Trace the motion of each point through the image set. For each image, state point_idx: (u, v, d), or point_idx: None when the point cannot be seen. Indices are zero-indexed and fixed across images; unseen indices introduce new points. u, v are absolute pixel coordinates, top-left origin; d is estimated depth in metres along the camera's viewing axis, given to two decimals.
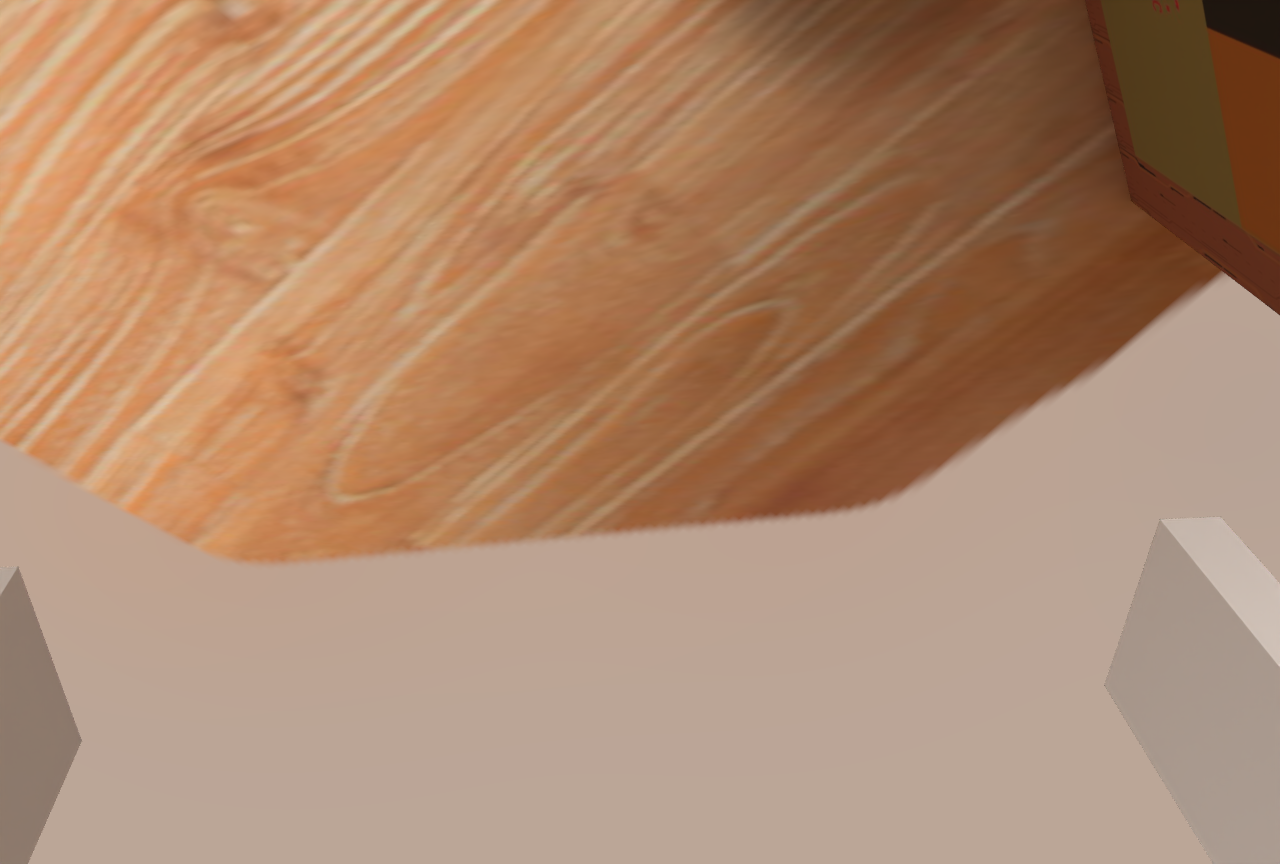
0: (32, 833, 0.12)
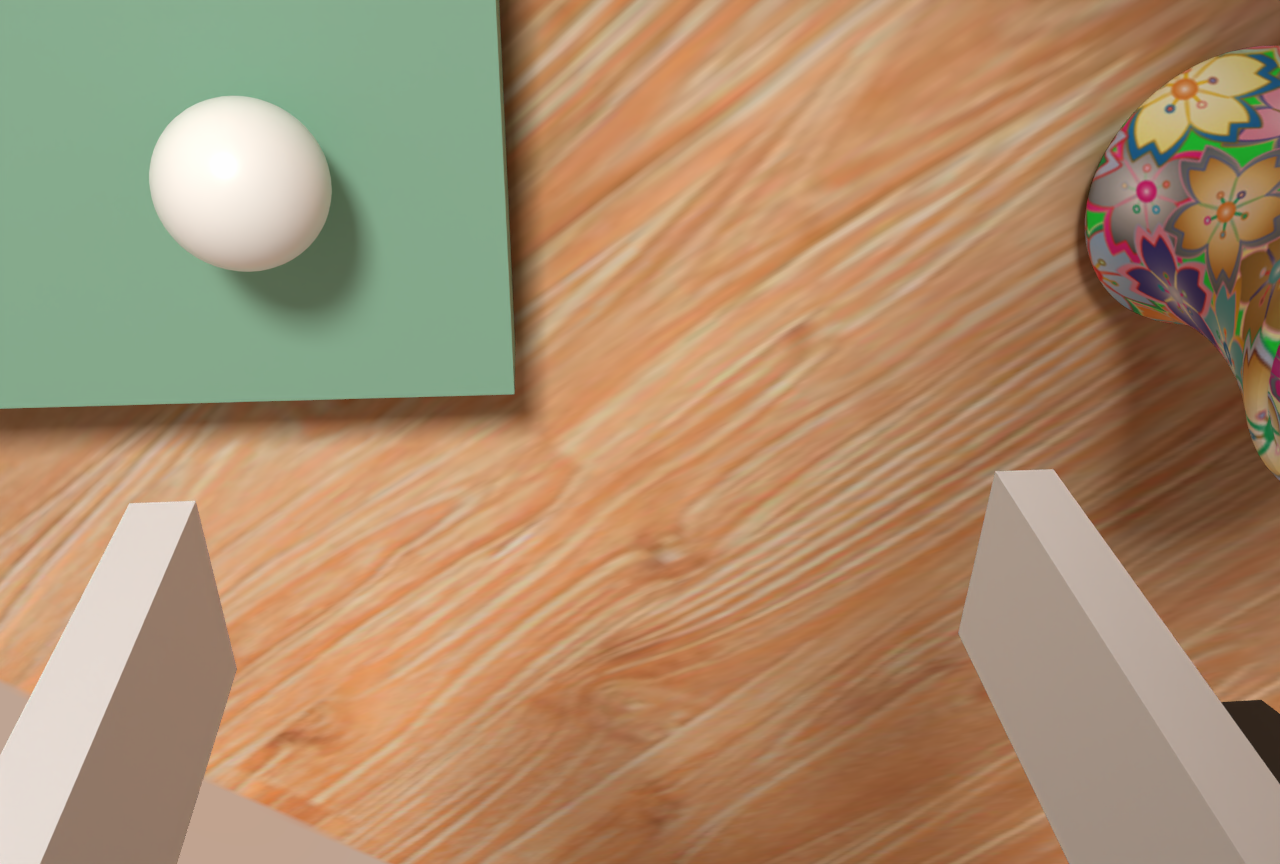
0: (207, 746, 0.13)
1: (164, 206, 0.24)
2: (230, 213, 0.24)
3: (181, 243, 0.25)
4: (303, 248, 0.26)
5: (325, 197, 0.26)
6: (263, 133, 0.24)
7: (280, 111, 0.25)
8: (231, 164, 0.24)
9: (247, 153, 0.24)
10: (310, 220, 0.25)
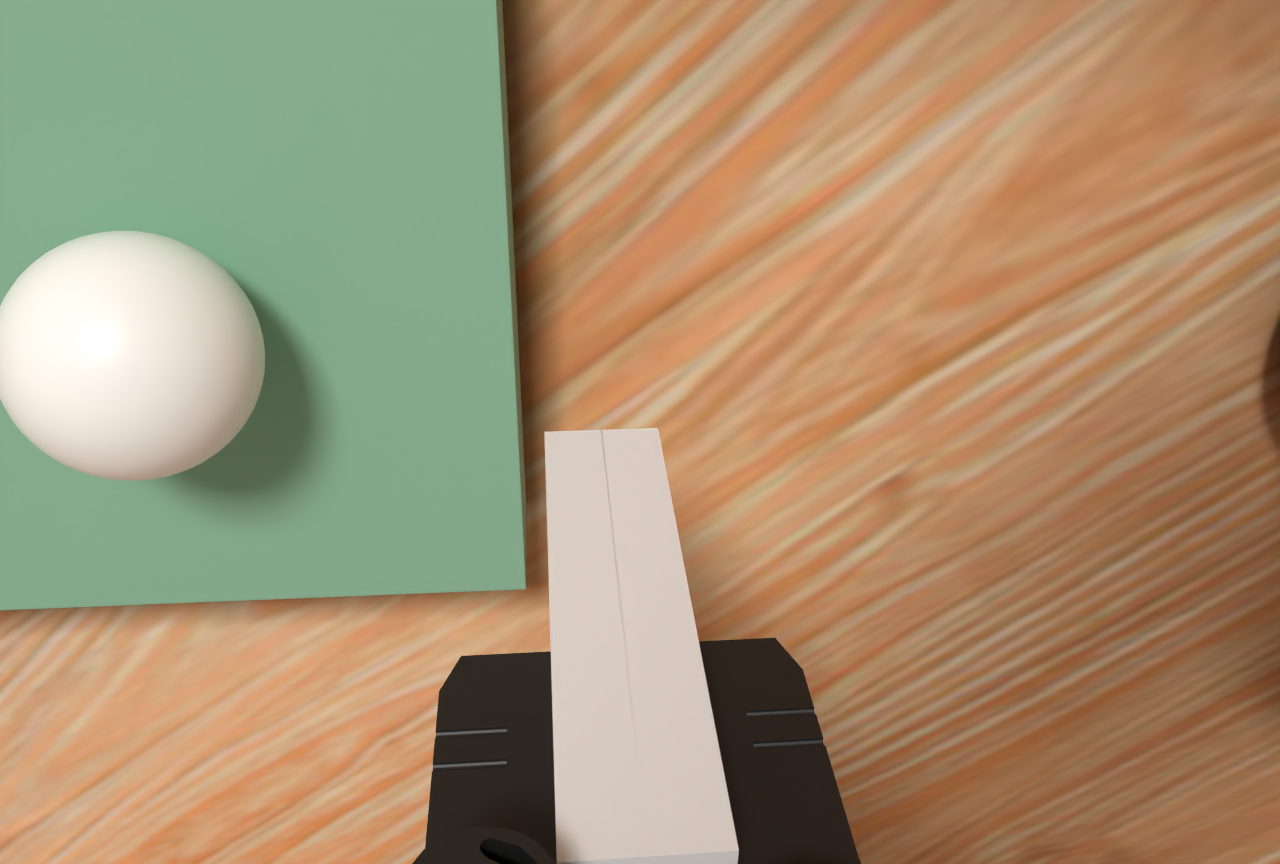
0: None
1: (9, 403, 0.16)
2: (104, 418, 0.16)
3: (40, 449, 0.17)
4: (223, 446, 0.18)
5: (254, 375, 0.18)
6: (153, 297, 0.16)
7: (184, 255, 0.17)
8: (103, 348, 0.16)
9: (127, 331, 0.16)
10: (230, 413, 0.17)
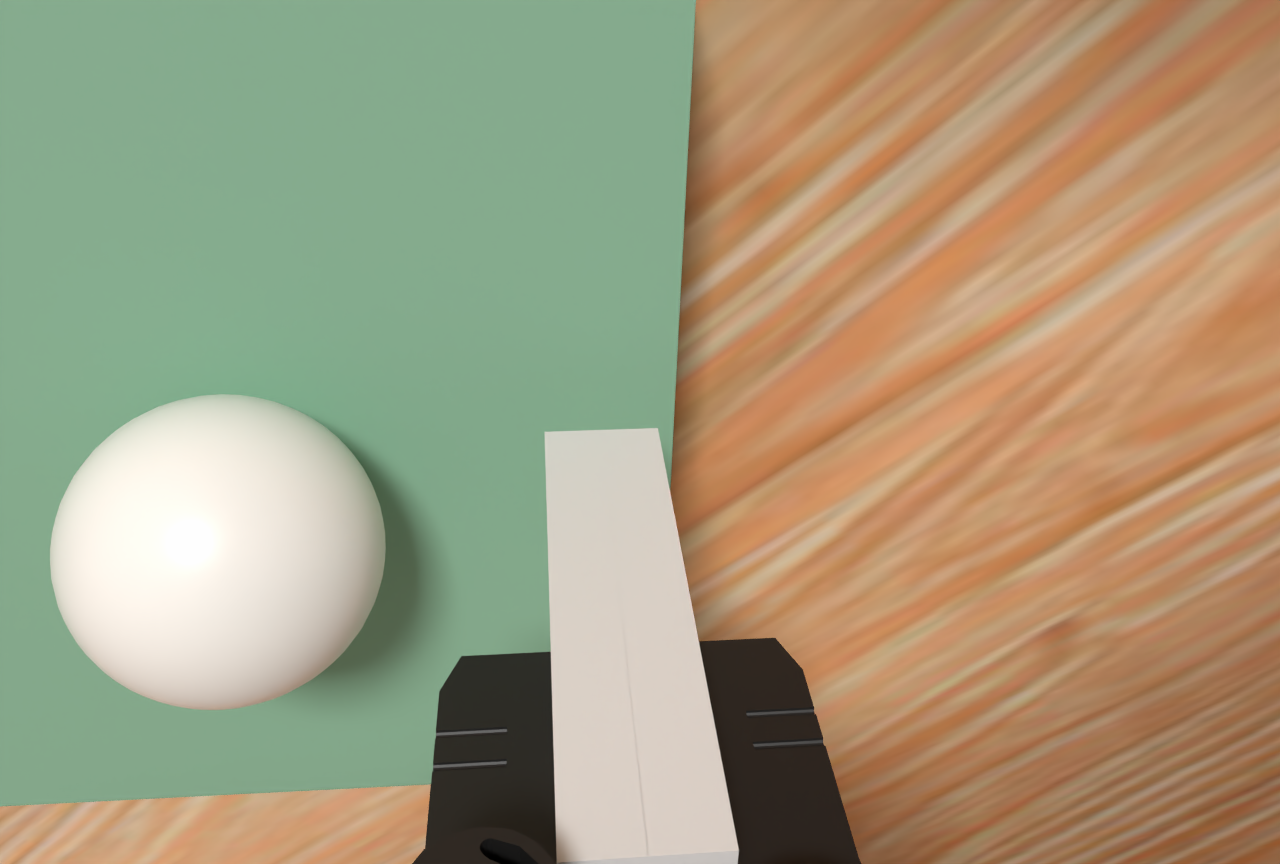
0: None
1: (75, 628, 0.13)
2: (201, 652, 0.12)
3: (110, 676, 0.13)
4: None
5: (377, 575, 0.14)
6: (264, 495, 0.13)
7: (296, 431, 0.13)
8: (203, 568, 0.12)
9: (232, 543, 0.12)
10: (350, 627, 0.14)
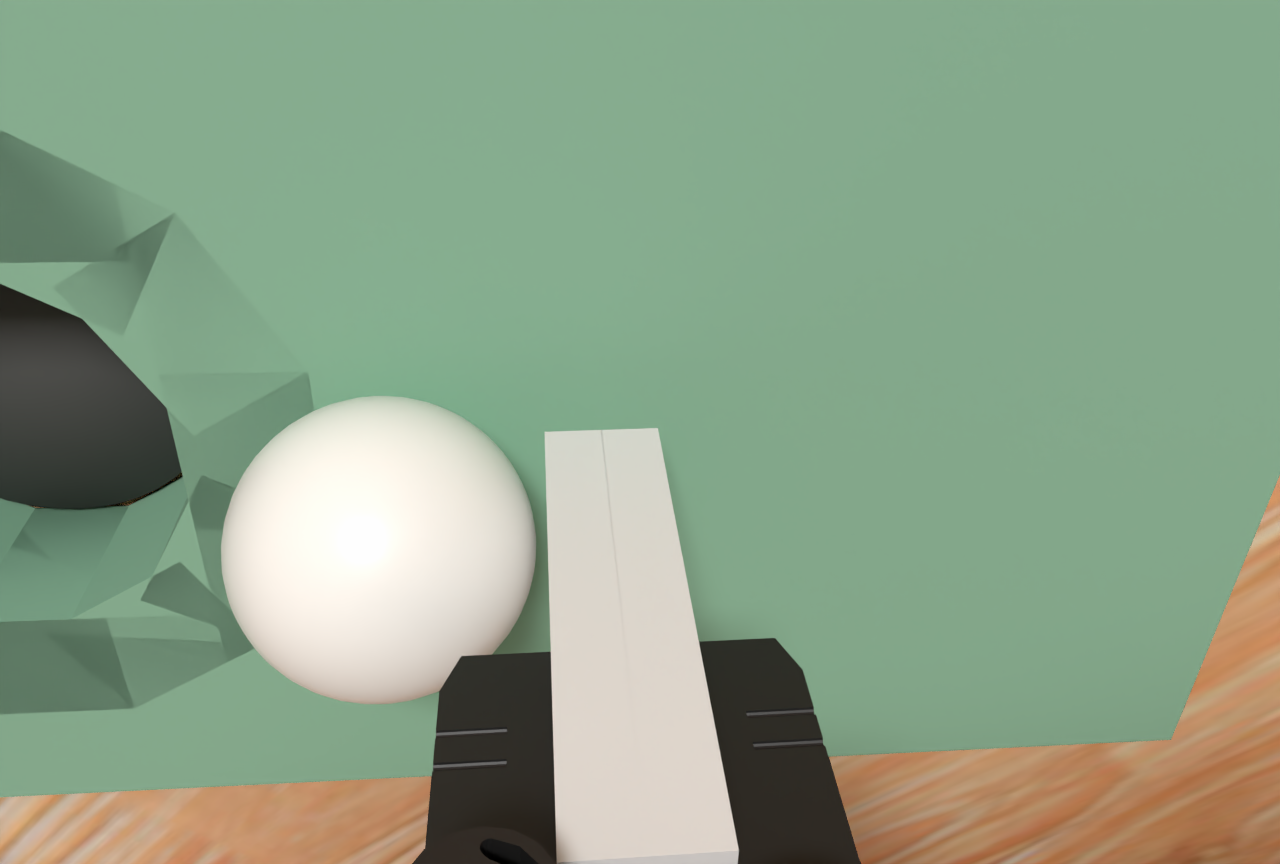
0: None
1: None
2: None
3: None
4: None
5: None
6: None
7: (301, 418, 0.14)
8: None
9: None
10: None
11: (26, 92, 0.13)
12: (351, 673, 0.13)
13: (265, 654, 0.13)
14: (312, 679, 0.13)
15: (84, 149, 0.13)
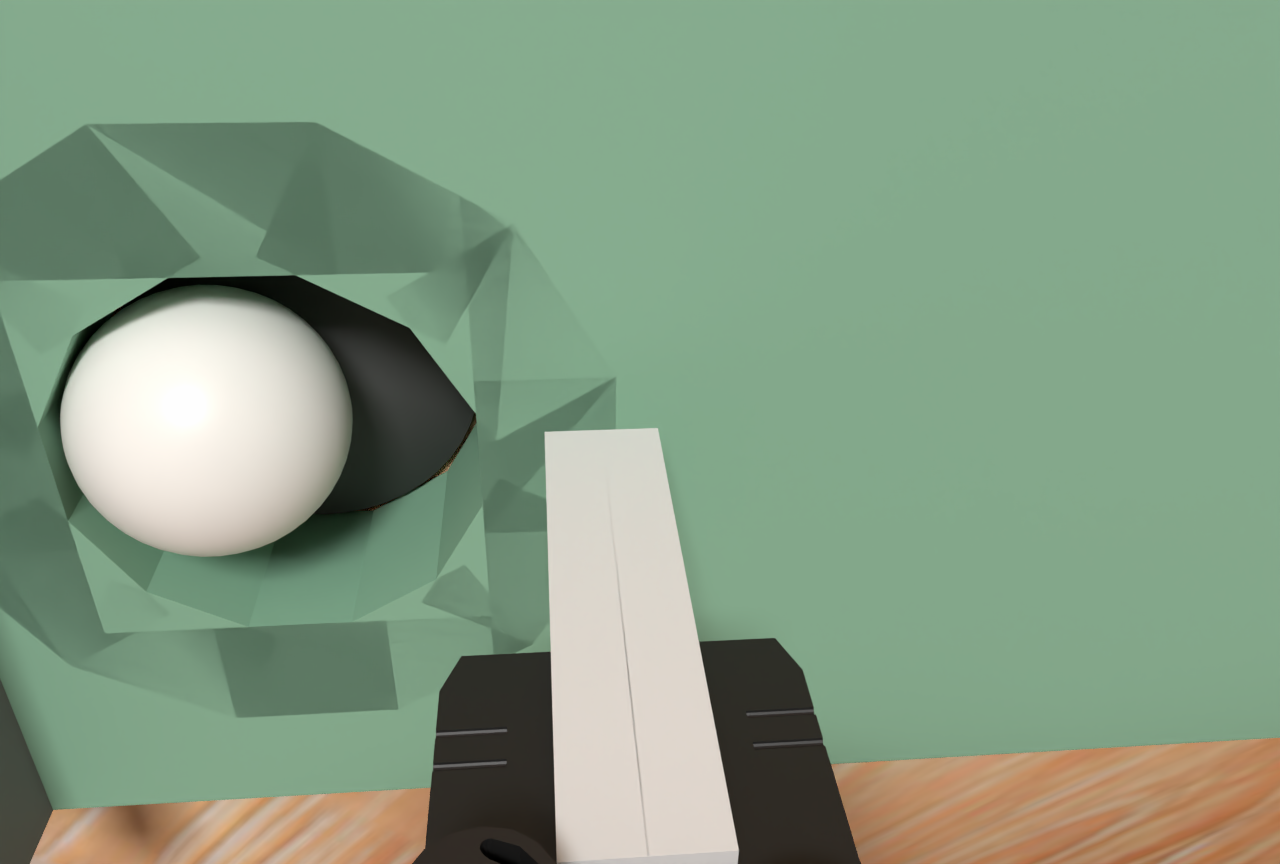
0: None
1: None
2: None
3: None
4: (150, 539, 0.15)
5: (149, 474, 0.14)
6: (109, 336, 0.15)
7: (189, 321, 0.15)
8: (74, 362, 0.15)
9: (80, 354, 0.15)
10: (113, 494, 0.15)
11: (391, 108, 0.13)
12: None
13: None
14: None
15: (437, 163, 0.14)
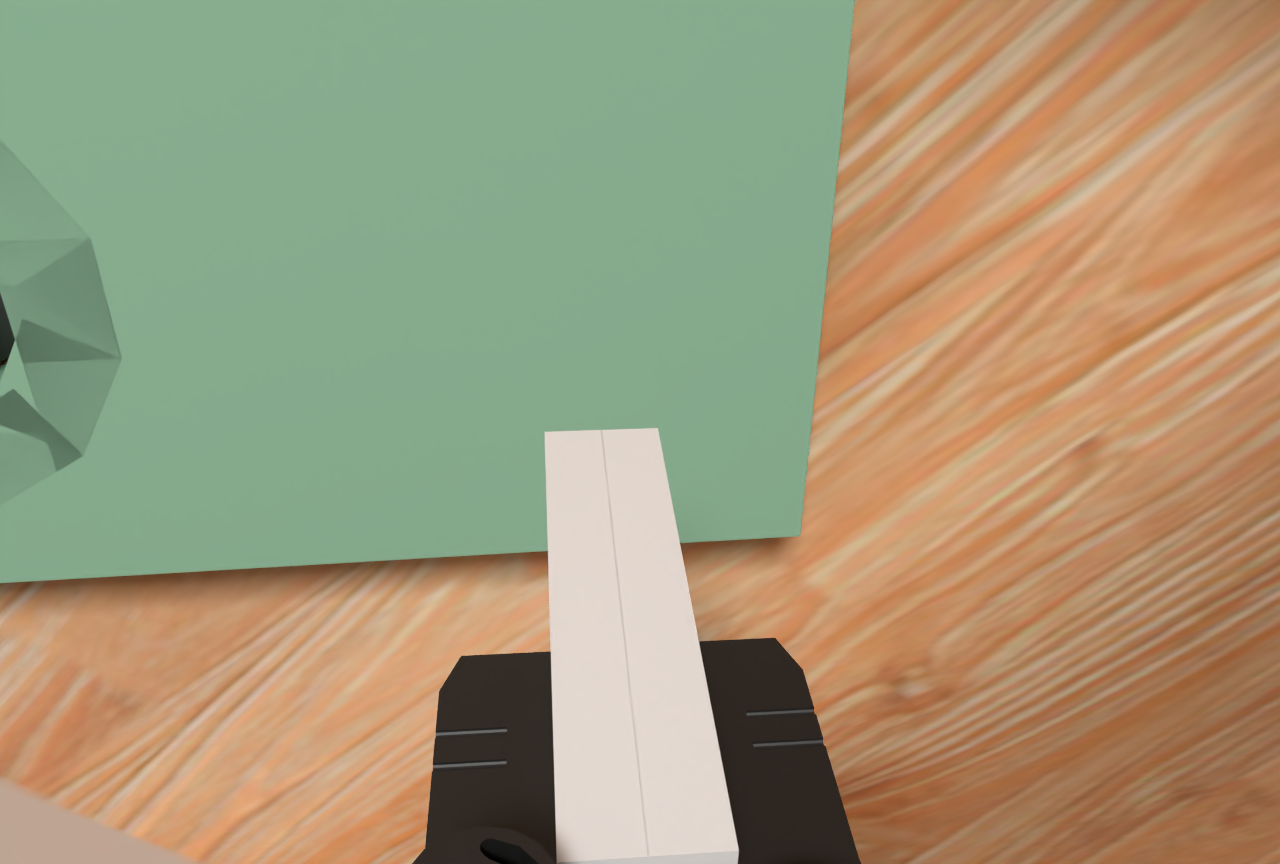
0: None
1: None
2: None
3: None
4: None
5: None
6: None
7: None
8: None
9: None
10: None
11: None
12: None
13: None
14: None
15: None
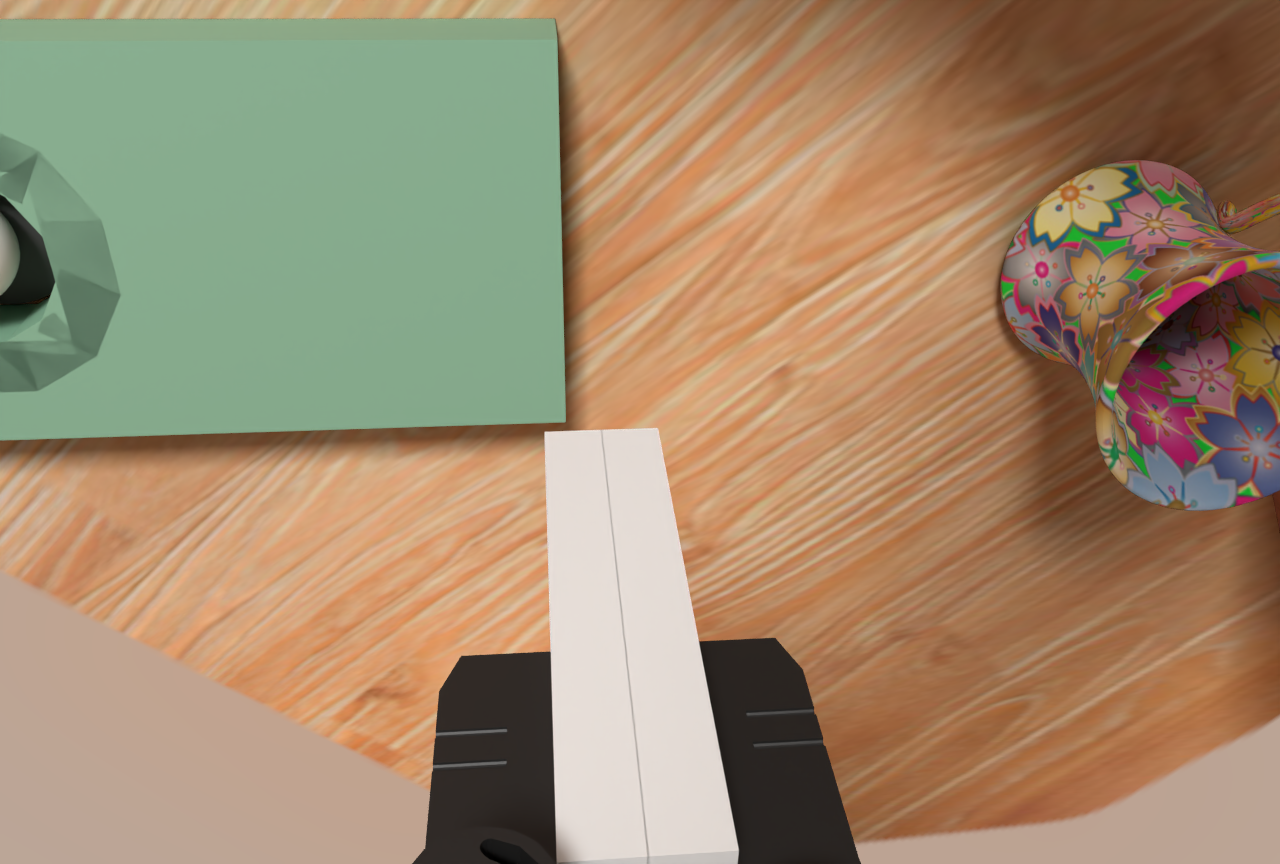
0: None
1: None
2: None
3: None
4: None
5: None
6: None
7: None
8: None
9: None
10: None
11: None
12: None
13: (19, 252, 0.38)
14: None
15: (1, 125, 0.34)
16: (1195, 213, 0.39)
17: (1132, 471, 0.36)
